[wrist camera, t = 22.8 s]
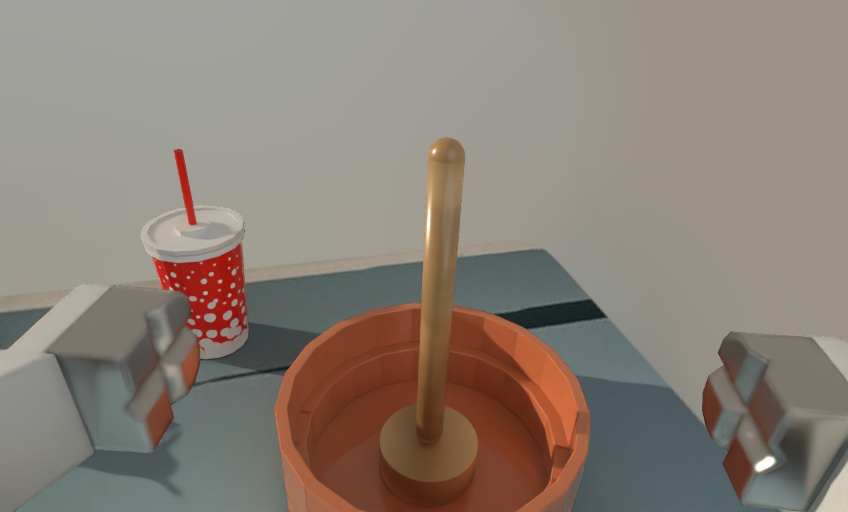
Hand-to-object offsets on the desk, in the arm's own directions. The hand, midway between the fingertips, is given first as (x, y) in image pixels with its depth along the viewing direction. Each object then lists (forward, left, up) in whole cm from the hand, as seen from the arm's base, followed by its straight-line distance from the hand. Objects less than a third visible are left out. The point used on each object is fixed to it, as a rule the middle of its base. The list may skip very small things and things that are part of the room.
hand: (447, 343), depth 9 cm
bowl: (-1, -14, -21) cm, 25 cm away
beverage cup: (+14, -25, -21) cm, 35 cm away
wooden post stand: (-1, -13, -20) cm, 24 cm away
